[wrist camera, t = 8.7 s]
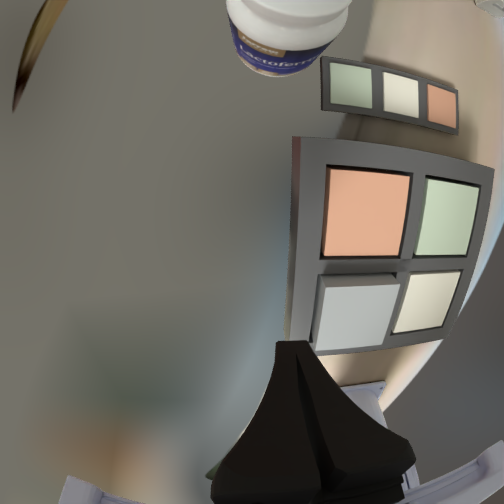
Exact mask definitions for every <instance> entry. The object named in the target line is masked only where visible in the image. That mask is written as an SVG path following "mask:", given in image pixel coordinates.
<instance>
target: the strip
mask: <svg viewBox="0 0 504 504" xmlns="http://www.w3.org/2000/svg"><path fill="white" fill-rule="evenodd" d="M320 72H321V110H324V111H334V112H343V113H351V114H358V115H365V116H372V117H378V118H384V119H389V120H395V121H400V122H405V123H409V124H414V125H418V126H423V127H427V128H431V129H435V130H439V131H442V132H446V133H449V134H453V135H458V124H459V111H458V90H456V89H454V88H451V87H448V86H446V85H443V84H440V83H437V82H435V81H432V80H429V79H426V78H423V77H419V76H416V75H413V74H409V73H406V72H402V71H399V70H395V69H391V68H387V67H382V66H378V65H374V64H369V63H364V62H359V61H353V60H347V59H341V58H333V57H326V56H322V57H321V58H320Z"/></svg>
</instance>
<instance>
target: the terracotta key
mask: <svg viewBox="0 0 504 504" xmlns="http://www.w3.org/2000/svg"><path fill="white" fill-rule="evenodd" d="M409 178H410V177H409V176H406V175H403V174H400V173H397V172H395V171H392V170H387V169H378V168H368V167H357V166H344V165H329V164H326V177H325V196H324V211H323V224H322V236H321V247H320V249H321V251H322V253H323V254H324V256H363V255H398V252H399V247H400V241H401V236H402V230H403V224H404V218H405V211H406V204H407V196H408V188H409Z"/></svg>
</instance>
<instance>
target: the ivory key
mask: <svg viewBox="0 0 504 504" xmlns="http://www.w3.org/2000/svg"><path fill="white" fill-rule="evenodd" d="M459 276H460V271H458V270H457V269H453V270H433V271H409V273H408V276H407V280H406V284H405V288H404V291H403V295H402V298H401V302H400V305H399V309H398V312H397V315H396V318H395V321H394V324H393V327H392V331H393V333H397V332H404V331H411V330H418V329H424V328H430V327H436V326H441V325H442V323H443V321H444V318H445V316H446V313H447V310H448V308H449V305H450V302H451V300H452V297H453V294H454V291H455V288H456V285H457V282H458V279H459Z"/></svg>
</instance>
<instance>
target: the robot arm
mask: <svg viewBox="0 0 504 504" xmlns="http://www.w3.org/2000/svg"><path fill="white" fill-rule="evenodd" d="M385 386H386V382H385V381H380V382H374V383H368V384H361V385H354V386H346V387H339V386H338V385H337V383H336V382H335V381H334V380H333V378H332V377H331V376H330V375H329V373H328V372H327V370H326V369H325V368H324V366H323V365H322V363H321V362H320V360H319V359H318V357H317V356H316V354H315V353H314V351H313V349H312V347H311V346H310V344H309V342H308V341H307V340H293V341H278V342H276V349H275V363H274V367H273V371H272V374H271V378H270V381H269V383H268V386H267V389H266V392H265V394H264V396H263V399H262V401H261V403H260V405H259V407H258V409H257V411H256V413H255V415H254V417H253V418H252V420H251V422H250V424H249V425H248V427H247V428H246V430H245V431H244V433H243V434H242V436H241V437H240V439H239V440H238V442H237V443H236V444H235V446H234V447H233V448H232V449H231V451H230V452H229V453H228V454H227V455H226V457H225V458H224V459H223V460H222V462H221V464H220V466H219V468H218V470H217V472H216V474H215V476H214V478H213V481H212V485H211V499H212V501H213V502H214V504H479V503H481V502H482V501H484V500H485V499H486V498H488V497H489V496H490V495H492V494H493V493H495V492H496V491H497V490H499V489H500V488H501V487H503V486H504V443H503V441H502V440H500V441H499V442H497V443H496V444H494V445H493V446H491V447H489V448H488V449H486V450H485V451H484V452H483V453H482V454H480V455H479V456H478V457H477V458H476V459H475V460H473V461H471V462H469V463H467V464H465V465H464V466H462V467H460V468H458V469H456V470H454V471H452V472H450V473H448V474H446V475H443V476H441V477H439V478H437V479H434V480H432V481H430V482H427V483H425V484H422V485H420V483H419V478H418V475H417V471H416V468H415V465H414V463H415V461H416V457H415V454H414V452H413V449H412V447H411V445H410V443H409V441H408V440H407V439H405V438H403V437H401V436H399V435H397V434H395V433H394V432H392V431H390V430H388V428H387V425H386V422H385V419H384V416H383V414H382V411H381V408H380V405H379V402H378V400H379V398H380V396H381V394H382V392H383V390H384V388H385ZM58 504H144V503H139V502H136V501H132V500H129V499H125V498H122V497H118V496H115V495H112V494H109V493H106V492H103V491H102V490H101V489H100V488H98V487H97V486H95V485H93V484H91V483H88V482H86V481H83V480H81V479H78V478H75V477H73V476H71V475H68V476H67V479H66V482H65V485H64V488H63V491H62V494H61V497H60V500H59V503H58Z"/></svg>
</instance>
